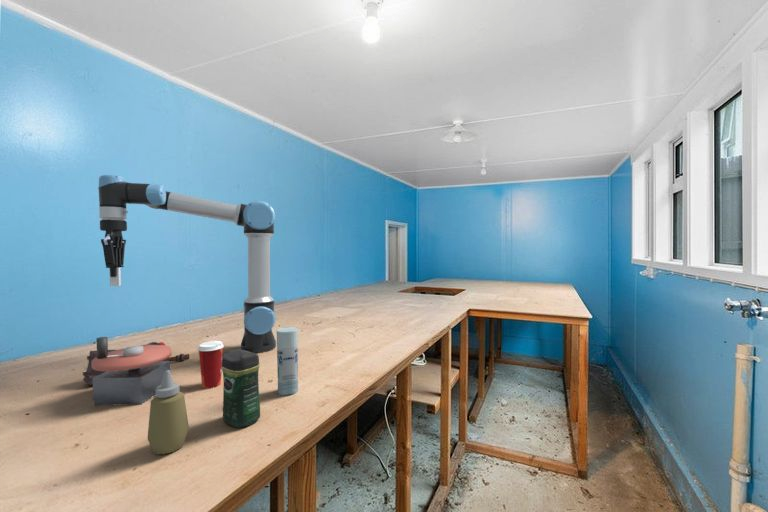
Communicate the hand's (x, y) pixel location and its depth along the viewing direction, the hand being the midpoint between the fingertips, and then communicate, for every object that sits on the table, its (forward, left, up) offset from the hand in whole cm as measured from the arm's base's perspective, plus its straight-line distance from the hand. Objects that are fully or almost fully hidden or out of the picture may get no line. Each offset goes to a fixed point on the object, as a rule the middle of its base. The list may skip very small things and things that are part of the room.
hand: (115, 285), depth 120 cm
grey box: (-17, +16, -32) cm, 40 cm away
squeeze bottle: (-45, +45, -33) cm, 71 cm away
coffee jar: (-57, +33, -33) cm, 73 cm away
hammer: (-6, -4, -33) cm, 34 cm away
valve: (+10, -19, -33) cm, 39 cm away
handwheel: (-17, +16, -24) cm, 34 cm away
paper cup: (-38, +10, -33) cm, 51 cm away
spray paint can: (-65, +16, -33) cm, 74 cm away
